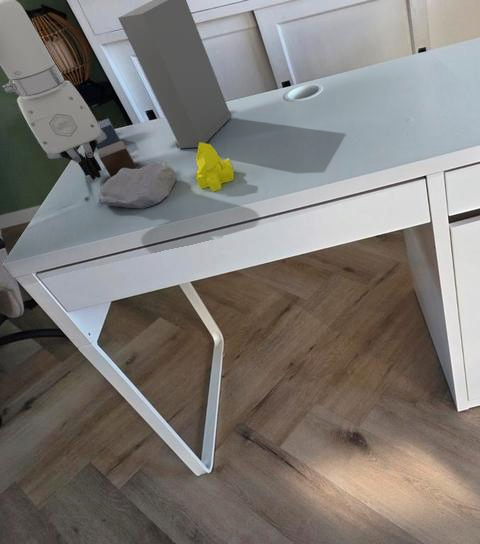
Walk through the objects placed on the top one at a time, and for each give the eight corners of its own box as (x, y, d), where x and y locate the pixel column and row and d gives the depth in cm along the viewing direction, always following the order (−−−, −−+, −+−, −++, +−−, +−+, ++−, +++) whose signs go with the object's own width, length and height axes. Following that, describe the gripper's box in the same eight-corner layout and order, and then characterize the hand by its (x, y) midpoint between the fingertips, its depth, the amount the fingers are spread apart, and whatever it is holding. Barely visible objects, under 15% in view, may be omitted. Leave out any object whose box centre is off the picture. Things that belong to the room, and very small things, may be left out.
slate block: (100, 154, 106) (87, 133, 103) (98, 147, 110) (85, 126, 107) (122, 145, 108) (110, 124, 105) (119, 138, 111) (108, 118, 108)
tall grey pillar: (209, 119, 110) (157, -4, 94) (232, 117, 108) (183, -9, 92) (177, 149, 100) (113, 18, 84) (202, 148, 98) (142, 13, 82)
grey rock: (165, 214, 84) (181, 174, 90) (149, 194, 80) (167, 154, 86) (107, 222, 87) (126, 183, 93) (88, 204, 83) (110, 164, 89)
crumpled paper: (233, 165, 89) (217, 125, 84) (233, 186, 83) (215, 144, 78) (202, 173, 89) (184, 134, 84) (200, 195, 83) (180, 154, 78)
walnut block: (113, 181, 94) (99, 158, 91) (110, 172, 98) (96, 149, 95) (138, 171, 96) (125, 148, 93) (134, 162, 99) (122, 140, 96)
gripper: (-9, 102, 78) (57, 198, 90) (85, 72, 82) (136, 168, 94) (-7, 92, 84) (56, 184, 95) (81, 63, 88) (131, 155, 100)
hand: (96, 175), depth 95 cm, fingers closed
